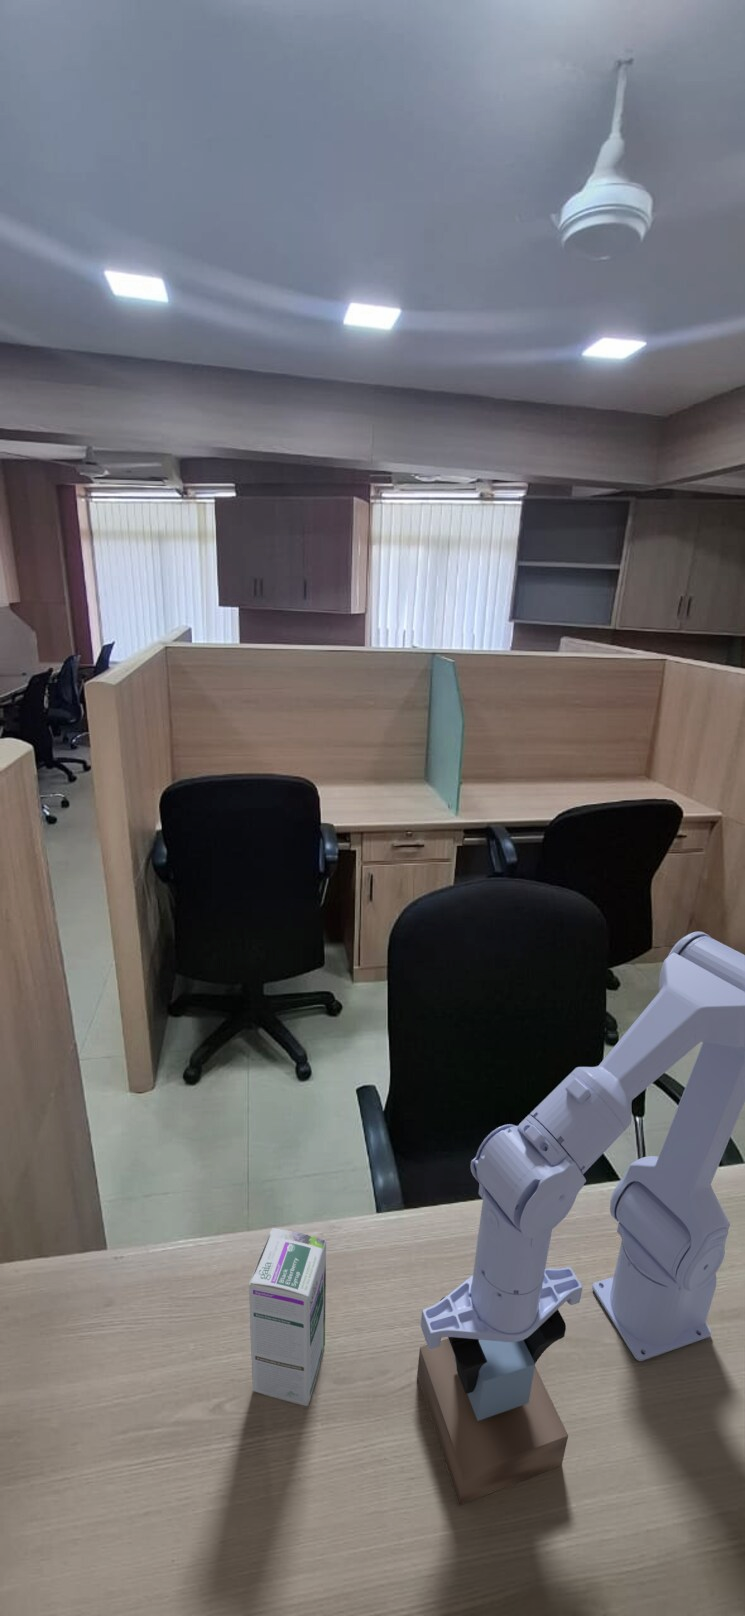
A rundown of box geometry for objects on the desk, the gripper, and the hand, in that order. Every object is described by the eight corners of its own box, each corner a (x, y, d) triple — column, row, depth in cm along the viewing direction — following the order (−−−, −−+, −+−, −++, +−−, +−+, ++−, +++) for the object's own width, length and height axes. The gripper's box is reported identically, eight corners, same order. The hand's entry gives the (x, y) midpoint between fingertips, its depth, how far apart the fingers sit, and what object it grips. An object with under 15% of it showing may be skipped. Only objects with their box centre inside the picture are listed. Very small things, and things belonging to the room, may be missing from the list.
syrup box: (309, 1409, 61) (312, 1297, 56) (249, 1392, 62) (248, 1282, 57) (325, 1344, 66) (329, 1238, 62) (270, 1330, 67) (270, 1224, 63)
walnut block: (507, 1346, 67) (512, 1318, 66) (561, 1464, 58) (568, 1435, 57) (417, 1375, 64) (419, 1347, 63) (459, 1505, 55) (463, 1475, 54)
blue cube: (501, 1344, 62) (507, 1306, 61) (528, 1403, 58) (535, 1364, 56) (454, 1359, 61) (458, 1321, 60) (477, 1421, 56) (483, 1381, 55)
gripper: (558, 1200, 60) (540, 1305, 65) (412, 1238, 56) (403, 1347, 60) (605, 1273, 54) (581, 1383, 58) (445, 1321, 50) (431, 1437, 54)
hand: (493, 1371), depth 59 cm, fingers closed on blue cube, 5 cm apart
